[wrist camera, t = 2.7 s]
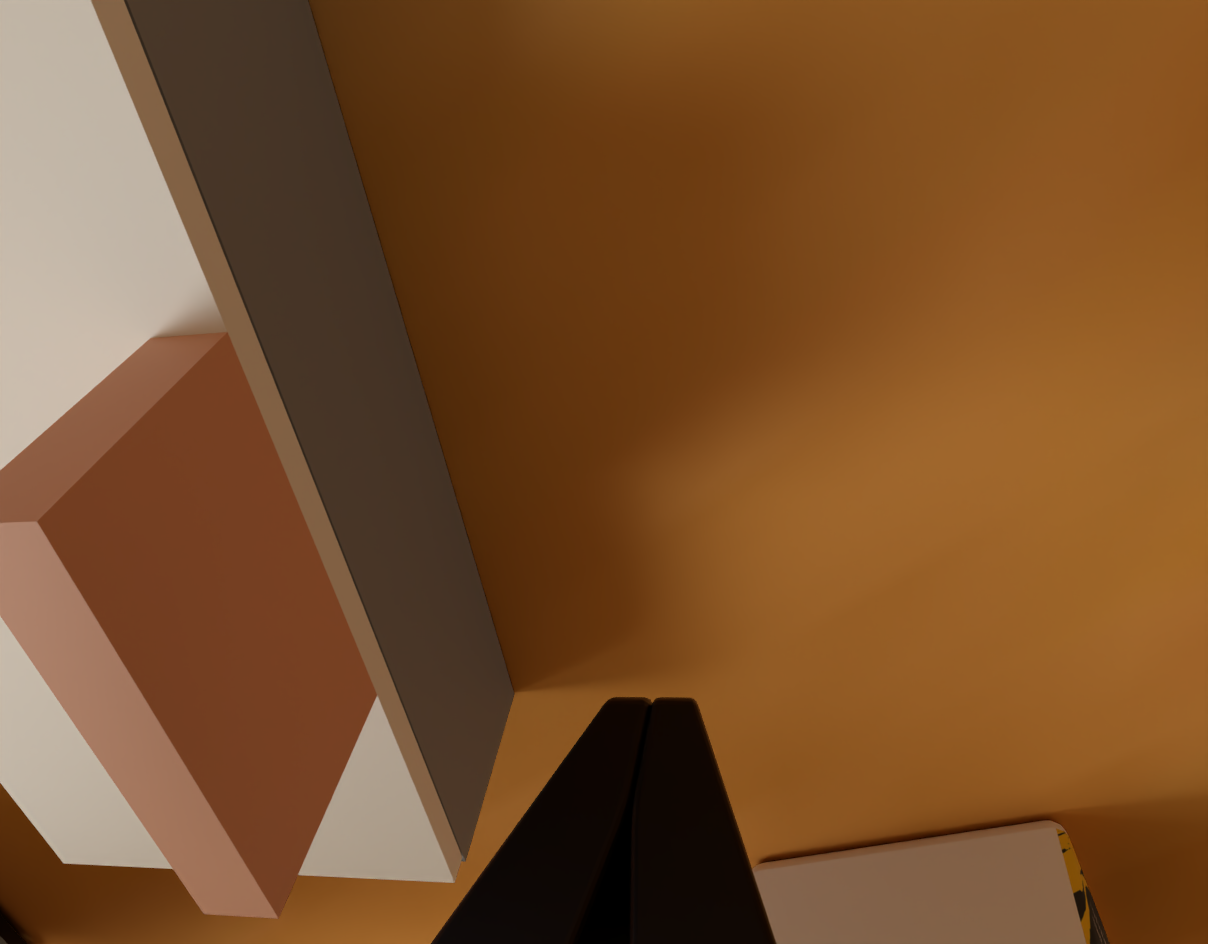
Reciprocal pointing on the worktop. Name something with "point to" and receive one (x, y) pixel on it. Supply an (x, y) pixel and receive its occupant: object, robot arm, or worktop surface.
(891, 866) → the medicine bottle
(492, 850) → the worktop surface
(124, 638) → the flap
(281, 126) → the carton
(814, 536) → the worktop surface
